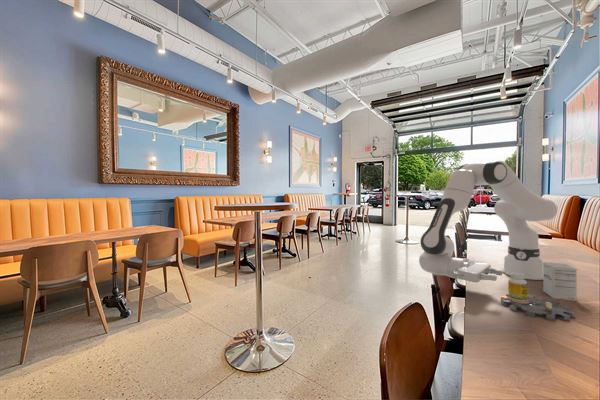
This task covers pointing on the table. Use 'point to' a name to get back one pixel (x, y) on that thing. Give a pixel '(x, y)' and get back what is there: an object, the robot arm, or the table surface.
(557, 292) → the supplement box
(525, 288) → the supplement bottle
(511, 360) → the table surface
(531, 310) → the sprocket wheel
